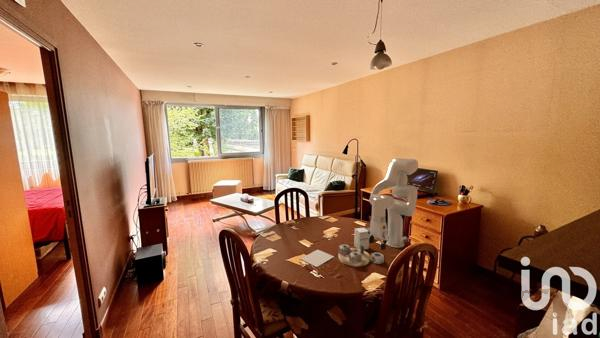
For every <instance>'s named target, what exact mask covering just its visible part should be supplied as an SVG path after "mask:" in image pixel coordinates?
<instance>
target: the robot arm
mask: <svg viewBox="0 0 600 338" xmlns="http://www.w3.org/2000/svg"><path fill="white" fill-rule="evenodd" d="M418 168H419V162H418V160H417V159H415V158H402V157H401V158H398V157H397V158H393V159H392V160H391V161H390V163H389V164H388V166H387V169H386V171H385V176H384V178H383V179H382V180H381V181H379V182H378V183H377V184H375V186H374V187H372V190H371V193H370V196H369V203H370V205H371V219H370V225H369V227H367V228H366V229H367V230H368V234H369V244H374V243H375V238H377V239H378V240H380V241H381V243H380V250H381V251H384V250H386V249H387V246H388V247H392V248H396V249H397V248H404V246H405V242H404V241H405V240H407V239H408V237H407V236H403V230H404V228H403V226H404V219H403V217H402V216H408V217H412V216H414V214H415V212H416V204H417V200H418V188H417V187H416V186H415V185H409V184H408V181H409V179H408V176H410V175H412V174H414V173H415V172H417V170H418ZM389 188H392V190H391V195H392V196H391V195H387V194H379V193H380V192H382V191H383V190H386V189H389ZM396 198H397V199H396ZM402 199H403V200H402ZM386 209H387V210H386ZM386 211H387V220H386ZM386 221H387V222H386Z"/></svg>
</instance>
